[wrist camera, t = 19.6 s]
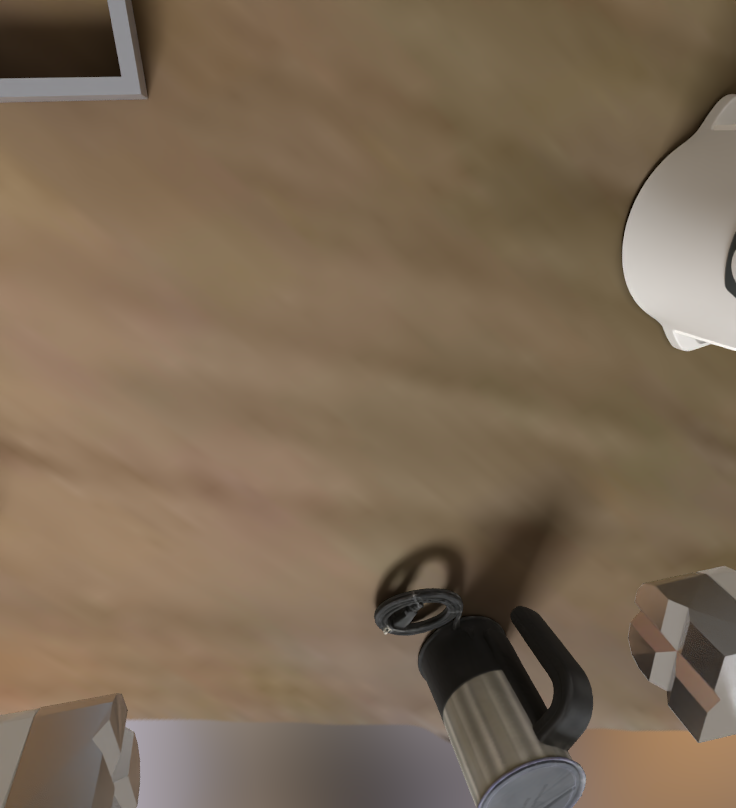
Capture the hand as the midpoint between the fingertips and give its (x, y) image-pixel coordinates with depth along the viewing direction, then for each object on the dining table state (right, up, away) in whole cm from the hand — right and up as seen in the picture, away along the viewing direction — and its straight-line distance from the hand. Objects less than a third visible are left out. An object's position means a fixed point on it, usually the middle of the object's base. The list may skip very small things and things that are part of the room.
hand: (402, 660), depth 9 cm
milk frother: (+6, -18, +47) cm, 50 cm away
